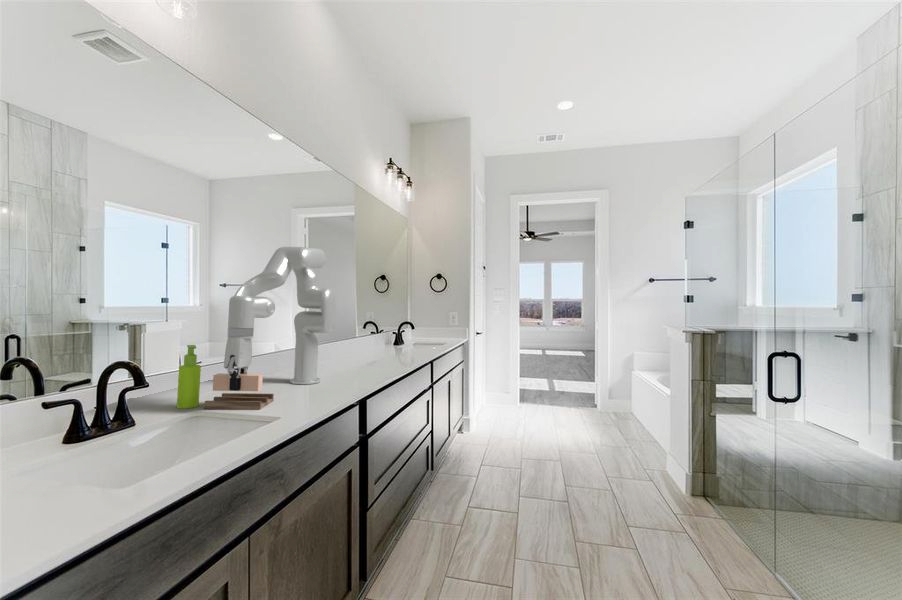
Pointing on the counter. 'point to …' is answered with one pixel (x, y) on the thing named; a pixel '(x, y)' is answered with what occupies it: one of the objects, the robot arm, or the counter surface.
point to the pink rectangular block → (247, 382)
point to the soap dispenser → (189, 381)
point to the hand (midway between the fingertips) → (237, 388)
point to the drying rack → (240, 401)
